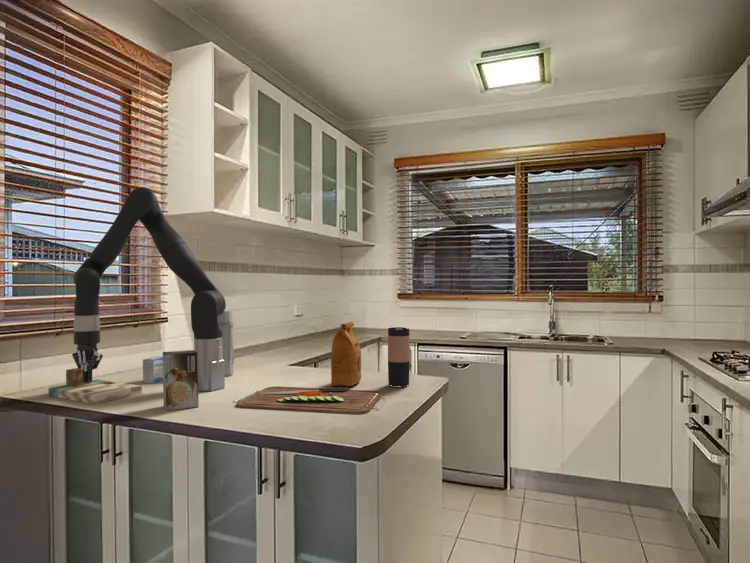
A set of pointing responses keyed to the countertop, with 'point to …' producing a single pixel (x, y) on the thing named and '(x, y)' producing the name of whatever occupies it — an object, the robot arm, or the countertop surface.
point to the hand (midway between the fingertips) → (87, 382)
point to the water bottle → (227, 340)
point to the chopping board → (312, 400)
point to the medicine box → (153, 369)
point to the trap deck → (95, 391)
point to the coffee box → (180, 379)
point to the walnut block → (74, 377)
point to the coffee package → (345, 357)
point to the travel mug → (398, 356)
